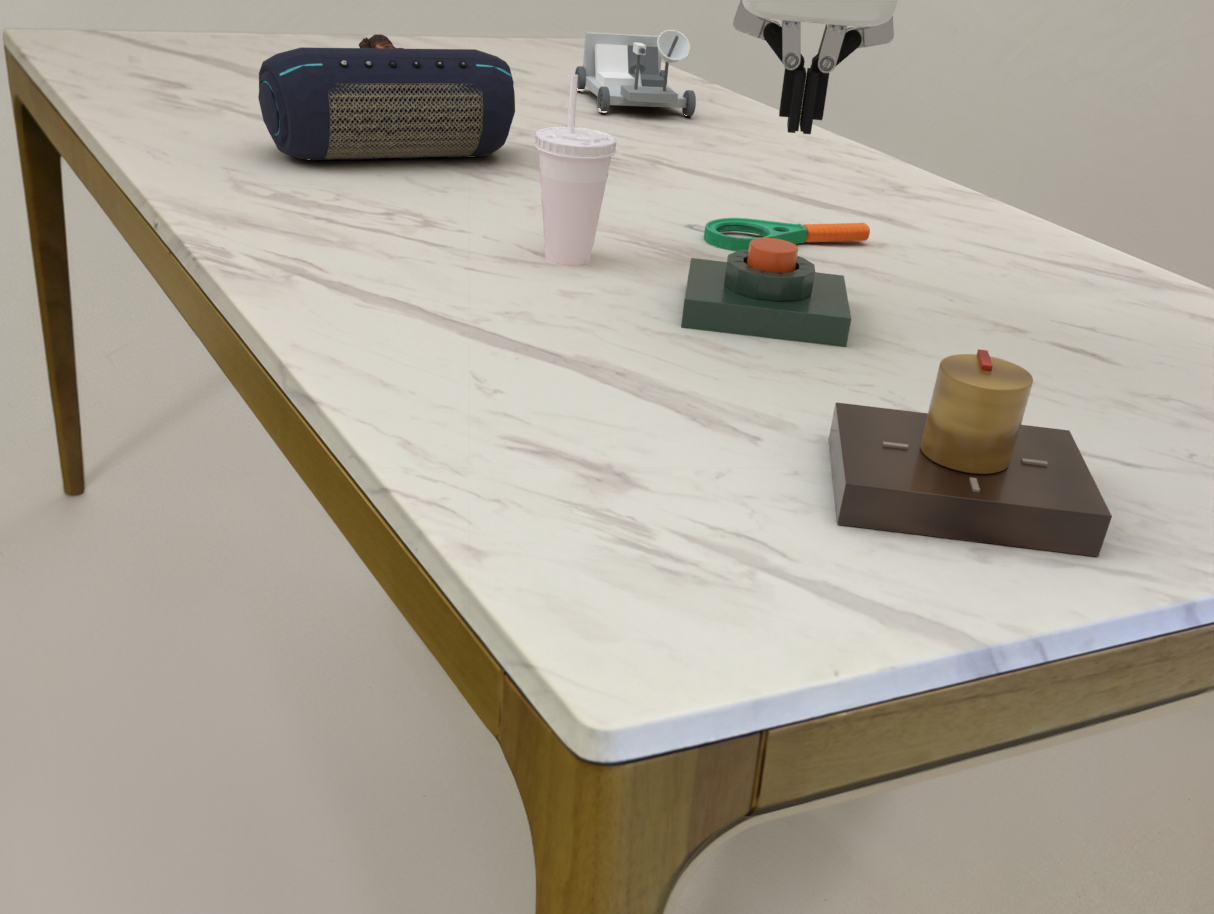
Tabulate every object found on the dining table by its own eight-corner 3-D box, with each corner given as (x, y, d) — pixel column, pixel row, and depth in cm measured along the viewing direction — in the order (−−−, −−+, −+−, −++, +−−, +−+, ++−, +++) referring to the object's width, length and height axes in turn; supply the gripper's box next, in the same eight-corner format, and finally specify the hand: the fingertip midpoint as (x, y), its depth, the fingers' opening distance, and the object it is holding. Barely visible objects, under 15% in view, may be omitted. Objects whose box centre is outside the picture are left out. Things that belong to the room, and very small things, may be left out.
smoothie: (560, 241, 107) (571, 64, 99) (622, 260, 104) (638, 79, 97) (512, 257, 102) (520, 72, 95) (576, 277, 99) (589, 88, 92)
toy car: (711, 35, 146) (614, 30, 143) (700, 124, 151) (607, 121, 148) (667, 10, 161) (579, 5, 158) (659, 92, 166) (573, 88, 163)
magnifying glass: (716, 252, 108) (718, 233, 107) (694, 231, 113) (696, 212, 112) (877, 253, 112) (881, 234, 111) (849, 232, 117) (853, 214, 116)
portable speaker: (278, 174, 117) (272, 58, 112) (254, 147, 125) (247, 37, 119) (528, 167, 127) (534, 60, 122) (493, 142, 135) (496, 41, 129)
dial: (1015, 479, 69) (1041, 389, 66) (923, 467, 69) (945, 376, 66) (1004, 441, 73) (1028, 355, 70) (917, 430, 73) (937, 343, 71)
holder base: (1058, 467, 77) (1070, 427, 75) (1098, 557, 68) (1113, 513, 66) (828, 439, 78) (836, 399, 76) (837, 524, 68) (846, 480, 67)
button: (794, 263, 95) (798, 240, 94) (795, 278, 92) (799, 254, 91) (746, 258, 95) (749, 235, 95) (746, 273, 92) (749, 249, 91)
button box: (838, 302, 100) (848, 252, 98) (845, 347, 91) (856, 293, 89) (687, 284, 100) (693, 234, 98) (680, 328, 92) (687, 274, 90)
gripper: (720, -189, 76) (689, 131, 86) (971, -169, 75) (911, 151, 85) (723, -188, 82) (694, 110, 92) (955, -170, 81) (901, 128, 91)
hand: (798, 129), depth 88 cm, fingers closed
